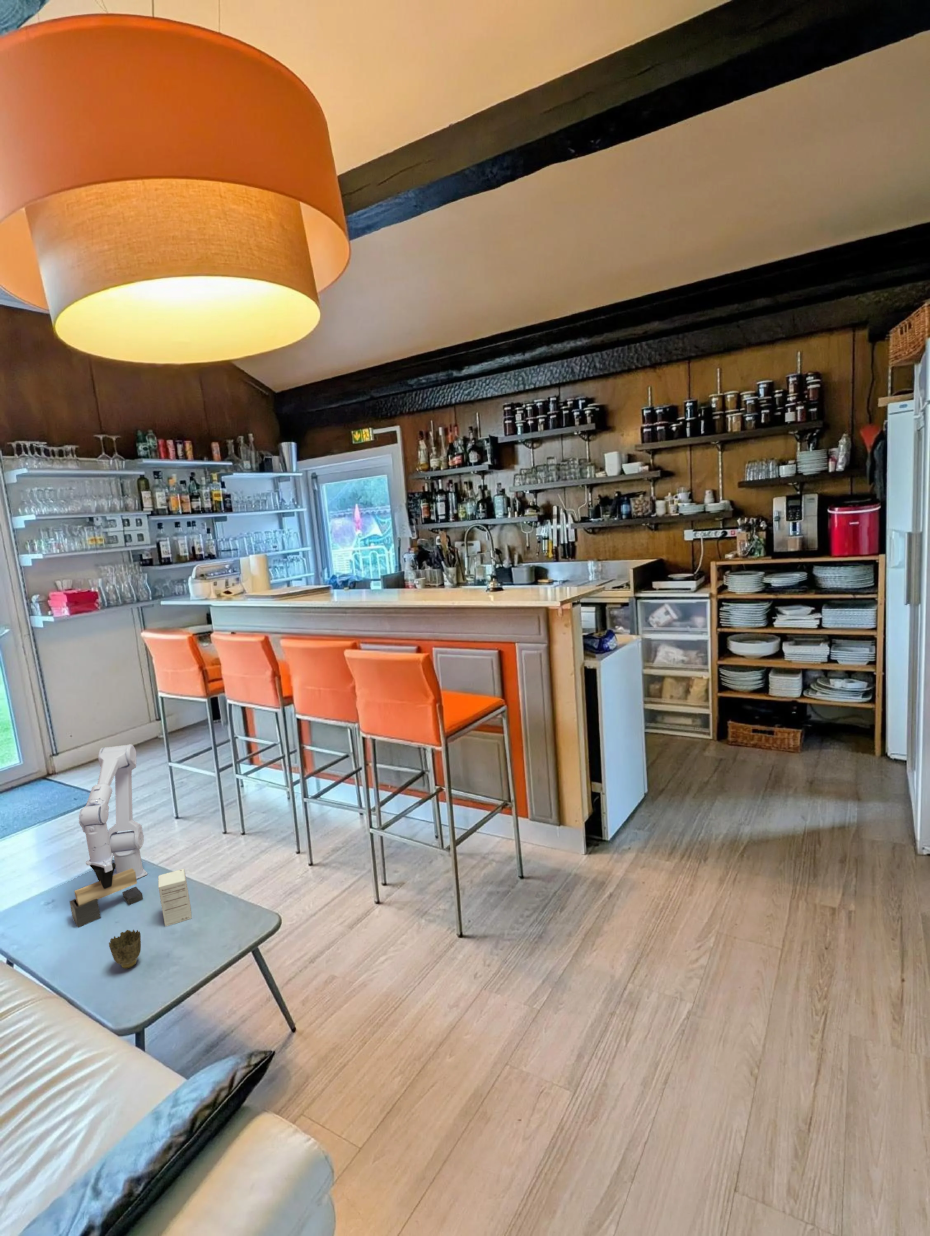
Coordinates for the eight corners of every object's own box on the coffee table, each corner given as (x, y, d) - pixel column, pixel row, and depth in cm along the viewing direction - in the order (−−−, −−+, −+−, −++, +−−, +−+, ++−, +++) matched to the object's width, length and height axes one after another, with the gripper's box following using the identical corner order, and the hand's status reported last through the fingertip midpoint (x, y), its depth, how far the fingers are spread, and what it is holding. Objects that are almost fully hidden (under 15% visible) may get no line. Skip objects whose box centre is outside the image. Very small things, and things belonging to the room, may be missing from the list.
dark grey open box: (72, 919, 192) (69, 901, 191) (95, 910, 196) (91, 892, 195) (78, 927, 188) (74, 909, 187) (100, 918, 192) (97, 899, 191)
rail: (76, 903, 191) (74, 891, 191) (133, 880, 202) (131, 868, 202) (79, 907, 189) (76, 894, 189) (137, 883, 200) (135, 871, 199)
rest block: (123, 898, 202) (122, 892, 202) (136, 892, 205) (135, 886, 204) (129, 905, 198) (128, 899, 197) (143, 899, 200) (142, 893, 200)
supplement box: (164, 913, 192) (157, 875, 190) (191, 906, 195) (185, 867, 193) (164, 927, 185) (157, 887, 183) (192, 919, 188) (185, 879, 186)
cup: (137, 952, 175) (132, 925, 174) (150, 962, 170) (145, 935, 169) (108, 968, 170) (103, 940, 168) (120, 979, 165) (115, 951, 164)
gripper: (77, 841, 196) (84, 882, 198) (90, 857, 185) (98, 900, 187) (102, 832, 200) (109, 872, 203) (117, 847, 190) (124, 889, 192)
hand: (106, 885), depth 195 cm, fingers closed on rail, 3 cm apart
